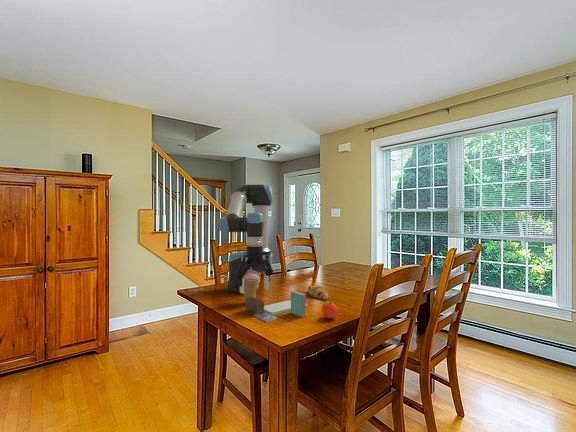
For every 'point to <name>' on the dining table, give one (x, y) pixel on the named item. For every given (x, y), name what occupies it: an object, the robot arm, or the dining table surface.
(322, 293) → the croissant
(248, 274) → the ice cream cone
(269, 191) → the robot arm
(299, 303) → the tile
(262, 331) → the dining table surface
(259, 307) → the brown grey long block
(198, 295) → the dining table surface
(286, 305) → the board
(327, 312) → the clementine
